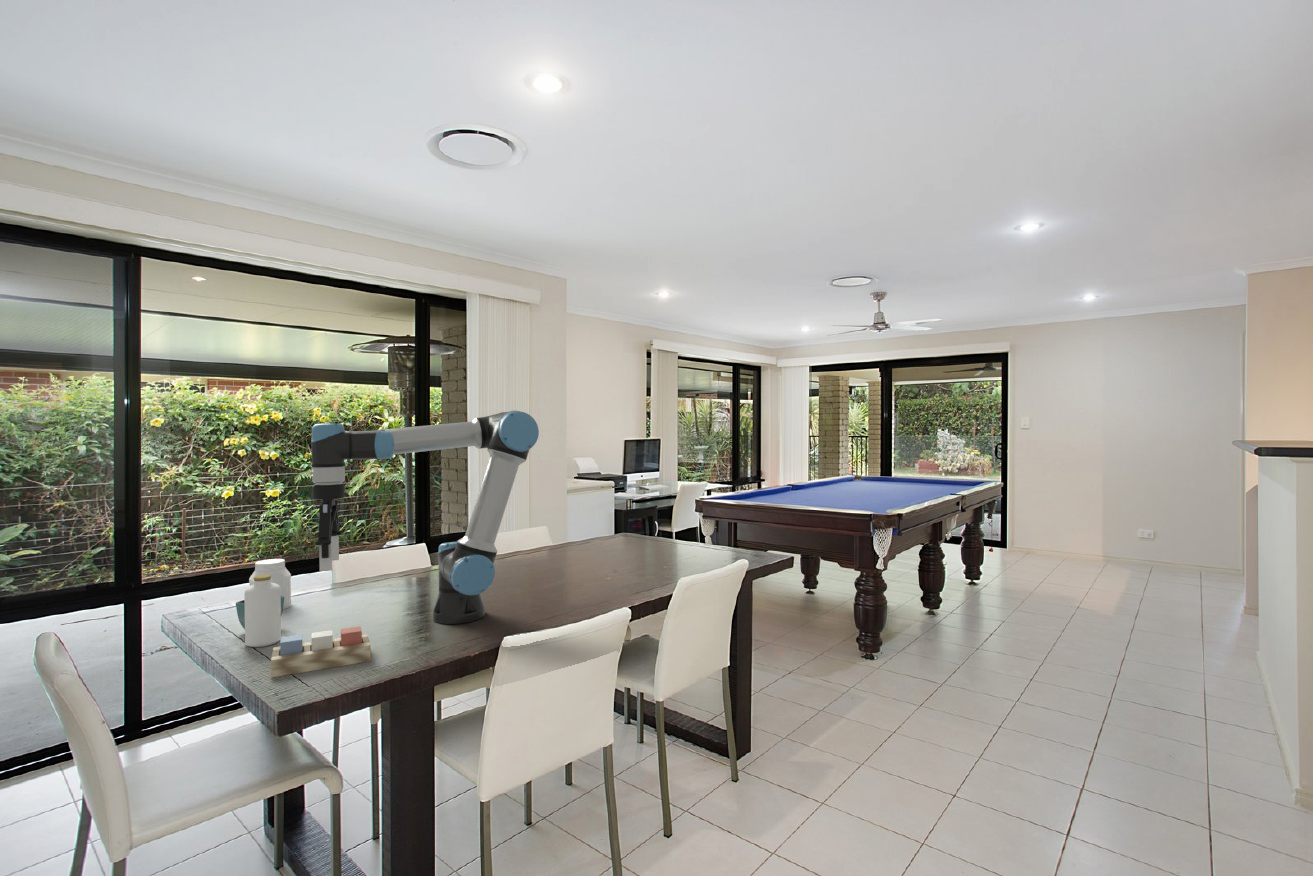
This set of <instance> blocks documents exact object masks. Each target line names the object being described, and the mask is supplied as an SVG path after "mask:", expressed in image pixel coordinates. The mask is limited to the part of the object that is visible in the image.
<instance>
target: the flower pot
mask: <svg viewBox="0 0 1313 876" xmlns="http://www.w3.org/2000/svg"><path fill="white" fill-rule="evenodd" d="M284 597H285V596H281V617H282V615H283V612H284V611H283V610H284V609H283V605H284ZM235 608H236V614H237V617H238V621H239V624H240V626H241V627H242V628H243V629H244V630H245V602H244V599H243V600H240V601H236V602H235Z"/></svg>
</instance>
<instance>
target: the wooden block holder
mask: <svg viewBox="0 0 1313 876" xmlns="http://www.w3.org/2000/svg"><path fill="white" fill-rule="evenodd" d="M302 643H303V652H302V653H295V654H288V655H282V656H280V646H279V645H278V646H274V647H273V649H272V652H271V653H272V654H271V658H270V659H271V660H270V669H271V670H270V672H271V673H270V677H271V678H276V677H282V676H289V675H294V674H301V673H307V672H313V671H319V670H325V669H326V670H327V669H331V668H337V667H342V666H350V665H356V664H363V663H367V662H371V661H372V660H371V659H372V654H371V653H372V651H371V650H372V649H371V647H372V646H371V642H370V638H369V635H368V633H364V634H362V643H361V644H355V645H348V646H341V637H336V638H335V637H334V638H333V648H328V649H322V650H315V651H312V641H309V642H308V641H307V642H302Z"/></svg>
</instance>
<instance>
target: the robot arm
mask: <svg viewBox="0 0 1313 876" xmlns="http://www.w3.org/2000/svg"><path fill="white" fill-rule="evenodd" d="M539 434H540V431H539V425H538V423H537V421H536V420H535V418H534V417H533V416H532V415H530V414H529V413H527V412H525V411H520V410H517V409H516V410H510V411H502V412H499V413H498V412H497V413H495V414H492V415H486V416H482V417H481V416H480V417H475V418H473V419H472V420H471V421H461V422H452V423H440V424H430V425H429V424H428V425H419V426H417V425H416V426H409V427H407V426H405V427H397V428H396V427H395V428H387V429H386V428H385V429H375V430H374V429H373V430H361V431H360V430H358V431H355V430H354V431H348V430H345V426H344V424H343V423H316V424H314V425H313V426H312V427H311V441H310V444H311V445H310V446H311V470H310V471H309V473H308V474H309V475H312V476H311V478H312V480H311V481H312V483H314V484H312V486H311V497H312V499H313V500H314V501H315V500H317V501H319V500H320V501H322V502H321V504H319V507H318V509H319V510H318V511H319V517H318V518H319V521H318V523H319V524H318V534H317V535H318V537H317V541H315V546H318V549H319V553H318V554H319V555H318V557H319V572H331V571H333V561H339V560H340V550H339V549H340V544H339V543H340V536H341V535H342V530H340V524H339V523H340V522H339V521H340V520H339V505H338V503H339V501H338V500H339V499H343V498H345V496H346V490H345V489H346V488H345V487H346V486H345V485H346V484H345V483H344V482H345V481H346V471H345V470H346V466H345V461H346V460H348V461H349V460H350V461H351V460H380V461H381V460H385V459H391V458H392V457H393V456H394V455H403V454H410V453H411V454H413V453H419V452H421V453H422V452H428V451H429V452H431V451H438V450H449V449H458V448H459V449H460V448H467V447H475V448H477V450H479V449H480V450H481V449H486V450H487V452H488V455H489V460H488V463H487V466H486V468H485V469H486V470H485V473H484V476H483V480H482V482H481V485H480V488H479V492H478V494H477V497H476V500H475V504H474V506H473V510H472V513H471V516H470V519H469V523H468V525H467V529H466V530H465V535H464V536H463V537H462V538H459V539H458V540H456V541H451V542H450V541H449V542H443V543H441V544H439V546H438V552H437V556H438V596H437V597H436V601H435V605H434V607H433V609H432V610H433V611H432V620H433V622H435V623H439V624H446V625H455V624H456V625H458V624H467V623H471V622H475V621H478V620H480V619H482V618H483V617H485V615H486V610H485V608H486V607H485V604H484V601H483V599H482V595H481V594H482V593H483V592H485V591H486V590H488V589H489V588H490V587H491V585H492V584H493V582H494V580H495V575H496V574H495V573H496V570H495V565H494V563H495V560H496V558H497V554H498V549H497V548H496V546H495V543H496V540H497V536H498V533H499V529H500V526H501V524H502V521H503V517H504V514H505V511H506V508H507V505H508V503H509V502H508V500H509V498H510V495H511V491H512V489H513V485H514V482H515V479H516V477H517V473H518V470H519V466H520V465H522V464H523V463H526V461H527V458H528V457H529V451H530V450H531V449H532V448H533V447H534V446H535V445H536V443H537V441H538V439H539Z"/></svg>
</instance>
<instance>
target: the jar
mask: <svg viewBox="0 0 1313 876" xmlns="http://www.w3.org/2000/svg"><path fill="white" fill-rule="evenodd" d="M254 567H255V568H254V571H253V572H252V574H250V577H249V579H248V582H249V587H250V586H251V585H253V584H254V583H253V580H254V577H255V576H259V575H271V578H272V581H271V582H272V583H275V584H278V585H279V586H280V589H281V596H285V597H284V605H283V610H285V609H288V608H290V607H291V606H292V597H291V596H292V590H291V589H292V587H291V584H292V583H291V581H292V580H291V577H292V573H290V571H289V570H288V569H287V567H286V561H285V559H283V558H271V559H270V558H269V559H263V560H258V561H256V562H255V563H254Z"/></svg>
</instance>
